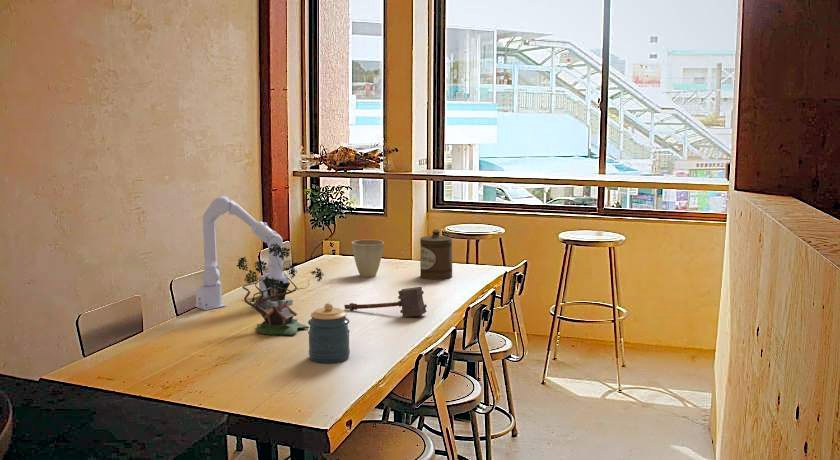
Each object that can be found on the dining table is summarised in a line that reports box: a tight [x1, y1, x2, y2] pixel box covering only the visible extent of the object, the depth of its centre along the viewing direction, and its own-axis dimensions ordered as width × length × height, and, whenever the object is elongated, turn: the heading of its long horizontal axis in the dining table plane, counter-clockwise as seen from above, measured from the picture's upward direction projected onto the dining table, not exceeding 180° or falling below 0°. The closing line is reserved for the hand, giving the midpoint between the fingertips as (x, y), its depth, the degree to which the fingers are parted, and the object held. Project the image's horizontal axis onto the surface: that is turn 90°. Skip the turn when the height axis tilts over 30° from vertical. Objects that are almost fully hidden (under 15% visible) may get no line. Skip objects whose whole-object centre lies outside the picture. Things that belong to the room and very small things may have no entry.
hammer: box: [344, 286, 428, 318], centre depth 326 cm, size 7×33×10 cm, turn 69°
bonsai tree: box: [235, 243, 325, 337], centre depth 296 cm, size 35×24×32 cm
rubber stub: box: [258, 297, 268, 311], centre depth 334 cm, size 3×3×4 cm
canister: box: [307, 302, 351, 364], centre depth 268 cm, size 13×13×18 cm
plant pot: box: [351, 239, 385, 278], centre depth 397 cm, size 15×15×16 cm
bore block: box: [267, 297, 294, 309], centre depth 341 cm, size 9×9×2 cm
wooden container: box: [419, 229, 453, 281], centre depth 395 cm, size 15×15×22 cm
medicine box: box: [258, 274, 280, 298], centre depth 358 cm, size 8×4×9 cm, turn 143°
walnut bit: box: [271, 289, 281, 302], centre depth 341 cm, size 3×3×6 cm
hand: (276, 298), depth 341 cm, fingers open, 7 cm apart
